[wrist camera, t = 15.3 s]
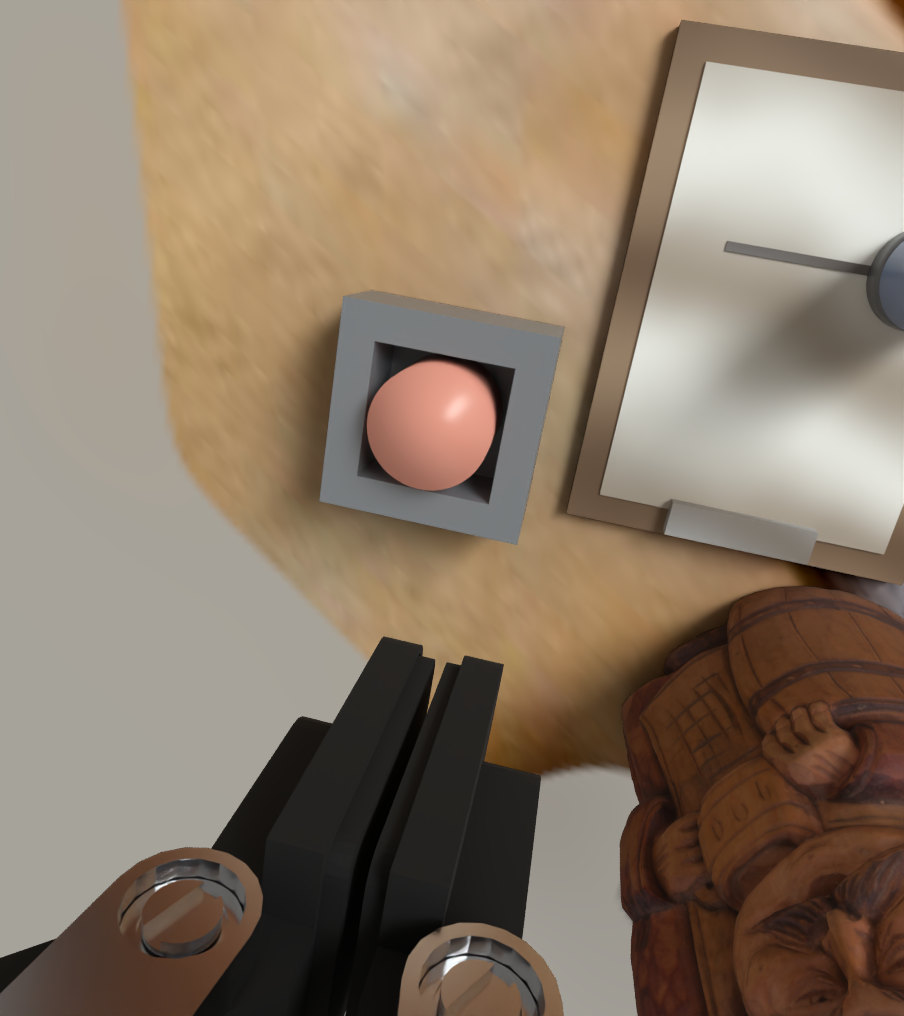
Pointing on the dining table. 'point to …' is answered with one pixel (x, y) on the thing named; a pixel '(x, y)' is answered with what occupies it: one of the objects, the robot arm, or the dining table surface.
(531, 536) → the dining table surface
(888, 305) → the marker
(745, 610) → the wooden figurine
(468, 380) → the button
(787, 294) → the clipboard
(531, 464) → the button housing
